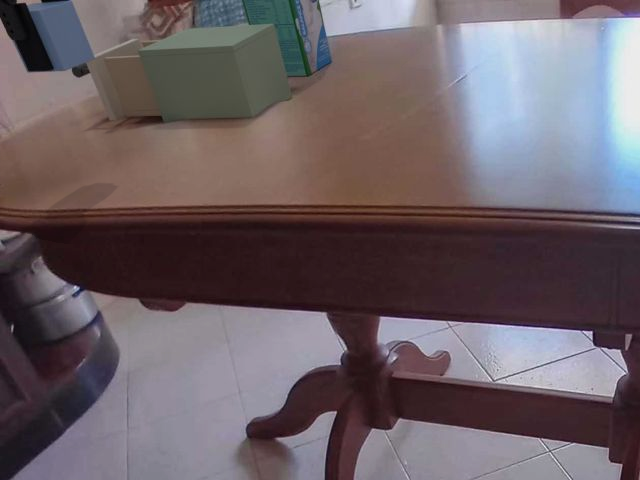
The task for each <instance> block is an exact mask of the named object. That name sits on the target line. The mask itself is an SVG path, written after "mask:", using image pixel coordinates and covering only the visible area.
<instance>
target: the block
mask: <svg viewBox="0 0 640 480" xmlns="http://www.w3.org/2000/svg"><path fill="white" fill-rule="evenodd" d="M26 5H27V7H28V9H29V12H30V15H31V17H32V19H33V21H34V24H35V26H36V28H37V31H38V33H39V35H40V38H41V40H42V42H43V44H44V47H45V49H46V51H47V54H48V56H49V58H50V60H51V63H52V65H53V67H54V69H53V70H50V71H30V72H29V71H28V69H27V67H26V64H25V62H24V60H23V58H22V56H21V53H20V51H19V49H18V47H17V45H16V43H15V40H12V43H13V45H14V48H15V49H16V52H17V53H18V56H19V57H20V60H21V62H22V64H23V67H24V69H25V71H26V73H30V74H31V73H50V72H66V71H68V70H72V68H73V67H76V66H78V65H81V64H83V63H86V62H88V61H90V60H93V59H95V57H94V55H95V54H94V52H93V49H92V47H91V45H90V44H91V43H90V42H89V40H88V37H87V34H86V32H85V29H84V27H83V25H82V22H81V20H80V18H79V15H78V11H77V10H76V8H75V5H74V3H73V1H72V0H70V1H58V2H44V3H42V2H34V3H33V2H32V3H30V4H26Z"/></svg>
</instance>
